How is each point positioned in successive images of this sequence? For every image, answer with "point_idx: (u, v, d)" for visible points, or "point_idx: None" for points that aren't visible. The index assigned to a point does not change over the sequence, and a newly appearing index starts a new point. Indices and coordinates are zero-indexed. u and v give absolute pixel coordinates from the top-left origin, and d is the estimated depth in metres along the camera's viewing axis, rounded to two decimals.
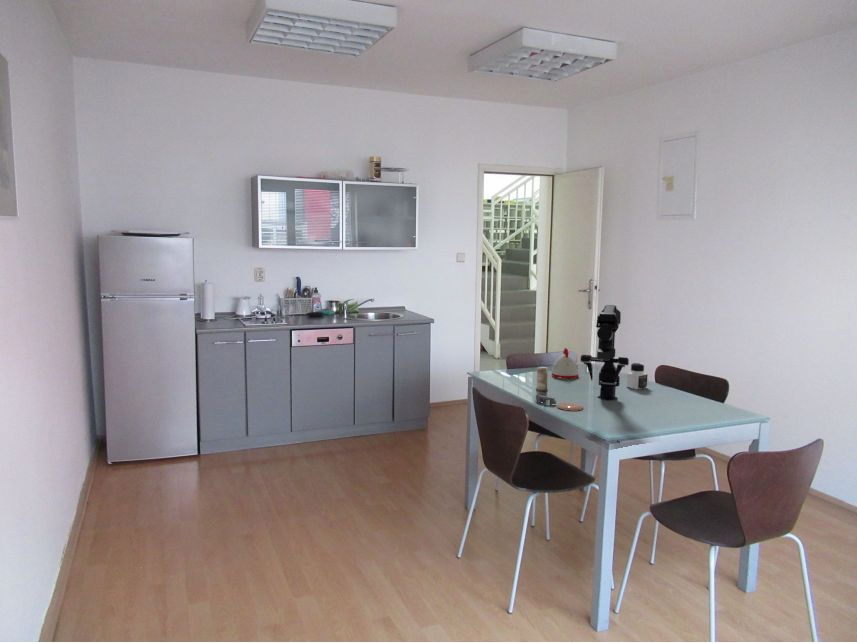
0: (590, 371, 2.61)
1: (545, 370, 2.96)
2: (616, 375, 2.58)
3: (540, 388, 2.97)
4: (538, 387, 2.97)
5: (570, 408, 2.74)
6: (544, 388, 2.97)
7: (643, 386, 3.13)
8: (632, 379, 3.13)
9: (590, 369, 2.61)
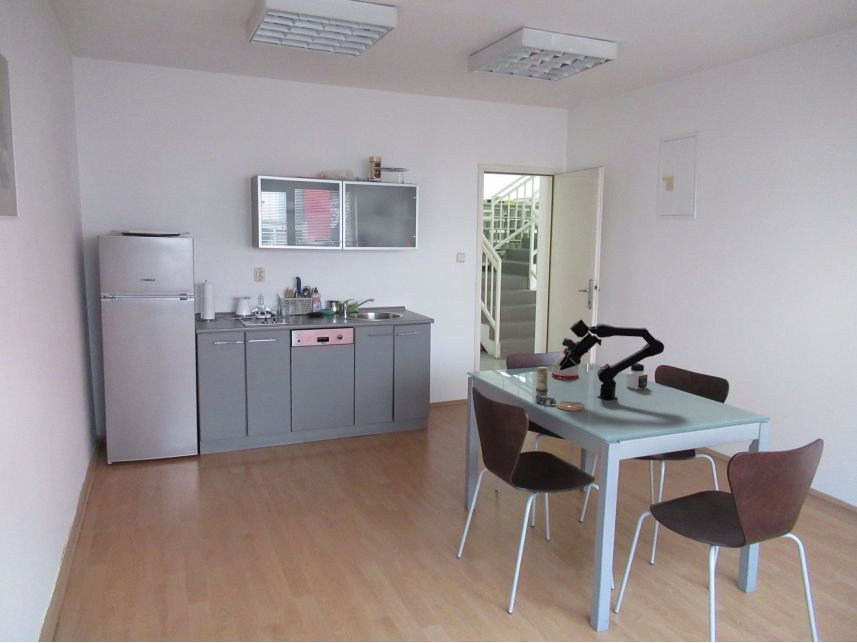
0: (563, 358, 3.01)
1: (545, 370, 2.96)
2: (563, 364, 2.91)
3: (540, 388, 2.97)
4: (538, 387, 2.97)
5: (570, 408, 2.74)
6: (544, 388, 2.97)
7: (643, 386, 3.13)
8: (632, 379, 3.13)
9: (564, 357, 3.00)
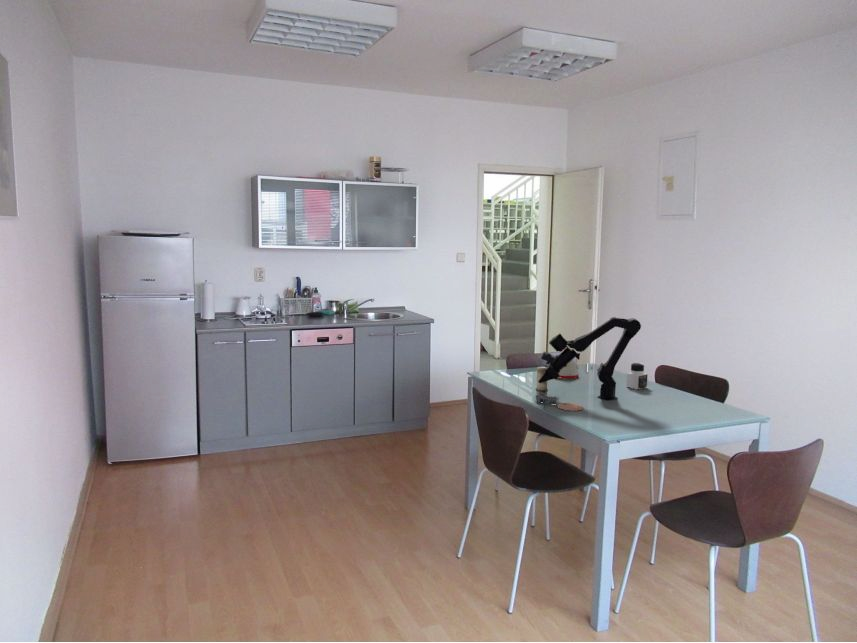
0: None
1: None
2: (541, 377, 2.95)
3: (540, 388, 2.97)
4: (538, 387, 2.97)
5: (570, 408, 2.74)
6: (544, 388, 2.97)
7: (643, 386, 3.13)
8: (632, 379, 3.13)
9: None
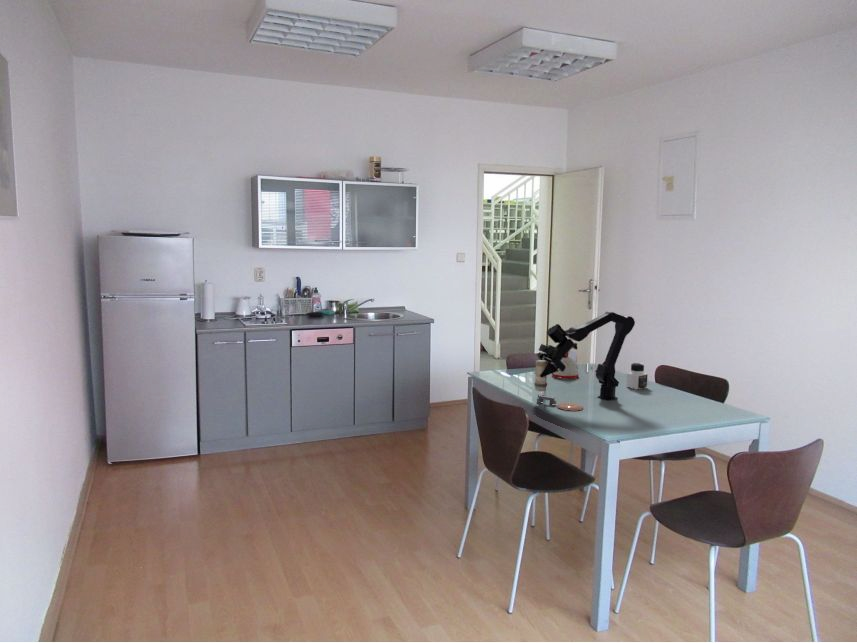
0: None
1: (546, 363, 2.82)
2: None
3: (541, 383, 2.82)
4: (539, 382, 2.82)
5: (570, 408, 2.74)
6: (545, 382, 2.83)
7: (643, 386, 3.13)
8: (632, 379, 3.13)
9: None
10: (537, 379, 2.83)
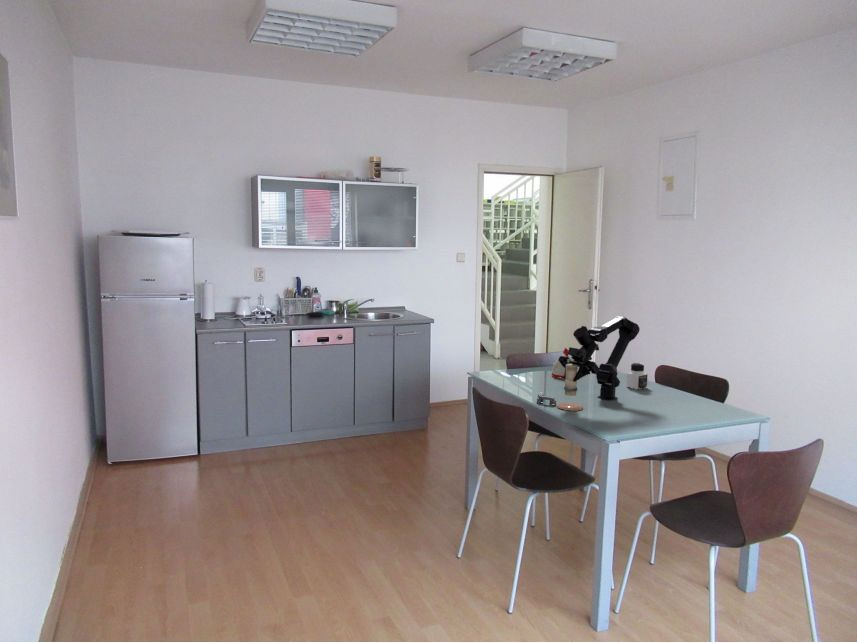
0: (565, 370, 2.78)
1: None
2: (576, 374, 2.73)
3: (574, 387, 2.74)
4: (571, 386, 2.74)
5: (570, 408, 2.74)
6: (576, 386, 2.76)
7: (643, 386, 3.13)
8: (632, 379, 3.13)
9: None
10: (569, 384, 2.74)
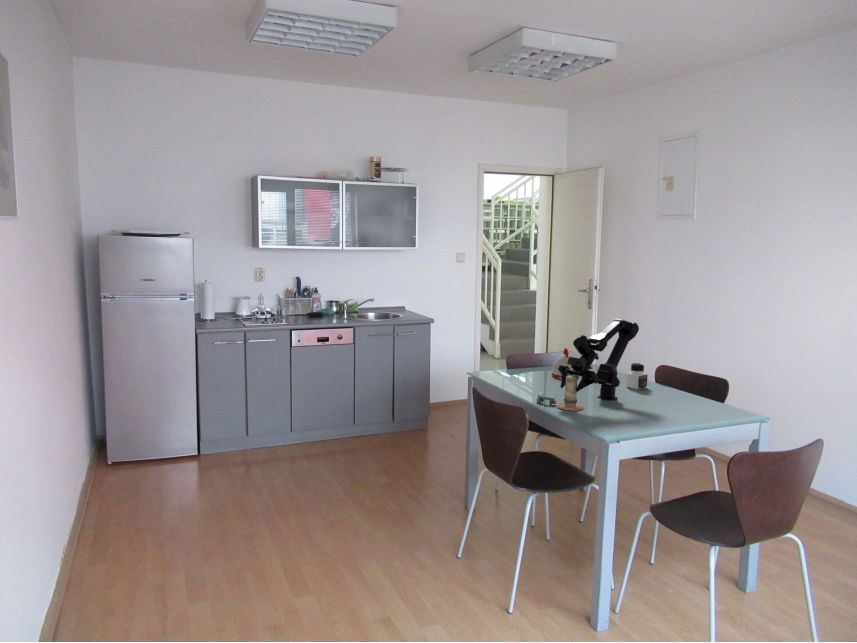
0: (562, 379, 2.80)
1: None
2: (579, 384, 2.73)
3: (573, 399, 2.75)
4: (571, 398, 2.75)
5: (570, 408, 2.74)
6: None
7: (643, 386, 3.13)
8: (632, 379, 3.13)
9: (563, 377, 2.80)
10: (569, 396, 2.75)
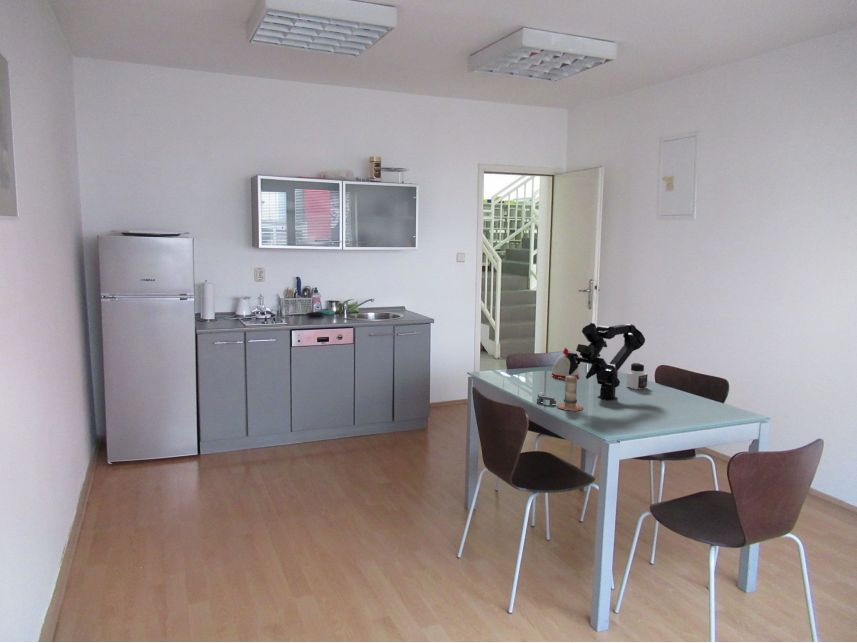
0: (570, 366, 2.83)
1: (576, 379, 2.75)
2: (589, 372, 2.75)
3: (573, 399, 2.75)
4: (571, 398, 2.75)
5: (570, 408, 2.74)
6: None
7: (643, 386, 3.13)
8: (632, 379, 3.13)
9: (571, 364, 2.83)
10: (569, 396, 2.75)
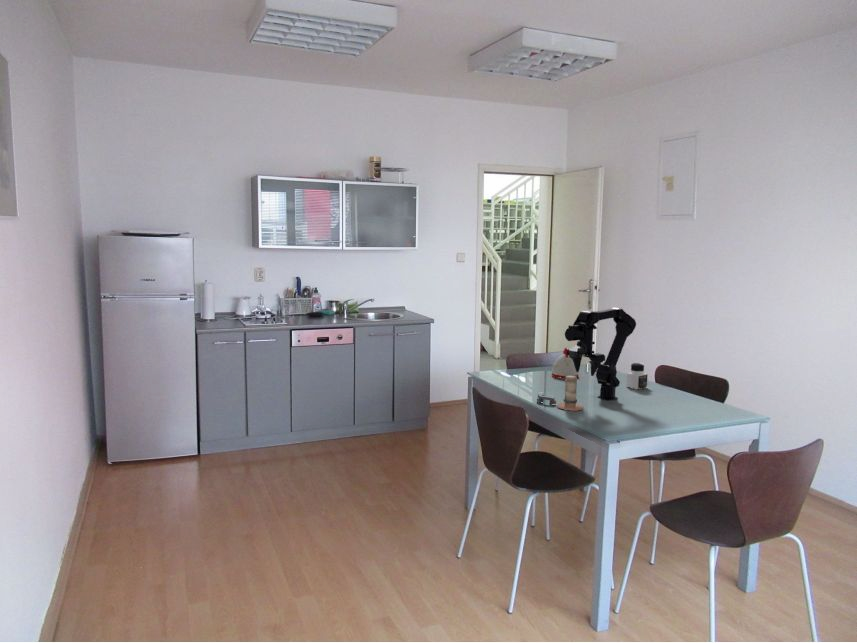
0: (574, 364, 2.88)
1: (576, 379, 2.75)
2: (591, 370, 2.80)
3: (573, 399, 2.75)
4: (571, 398, 2.75)
5: (570, 408, 2.74)
6: None
7: (643, 386, 3.13)
8: (632, 379, 3.13)
9: (574, 362, 2.88)
10: (569, 396, 2.75)
